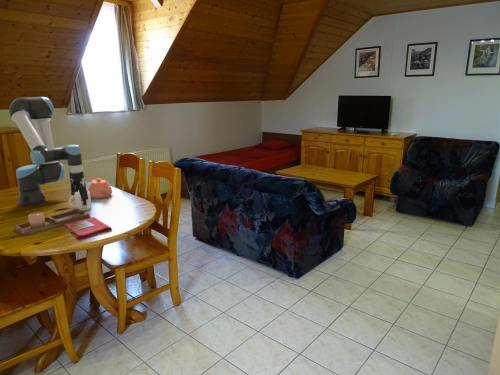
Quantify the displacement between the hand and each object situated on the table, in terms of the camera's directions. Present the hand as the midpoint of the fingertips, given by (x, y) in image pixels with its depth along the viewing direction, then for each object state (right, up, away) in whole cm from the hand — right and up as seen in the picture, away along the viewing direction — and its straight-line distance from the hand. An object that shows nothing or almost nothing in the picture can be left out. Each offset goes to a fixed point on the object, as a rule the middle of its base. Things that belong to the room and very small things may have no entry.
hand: (81, 208), depth 217 cm
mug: (0, -1, +1) cm, 1 cm away
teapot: (+2, +6, +25) cm, 26 cm away
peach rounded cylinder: (-9, -8, -29) cm, 31 cm away
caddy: (-4, -7, -23) cm, 24 cm away
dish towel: (+16, -9, -28) cm, 34 cm away
